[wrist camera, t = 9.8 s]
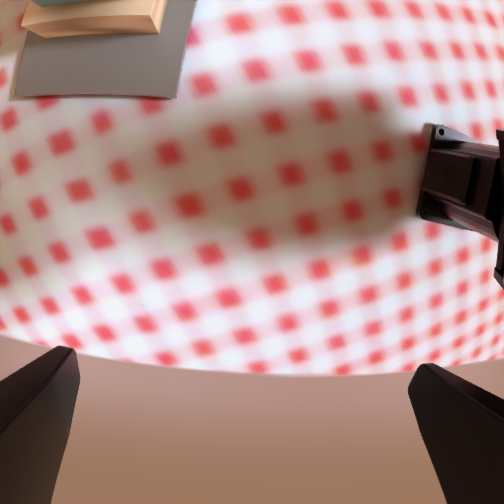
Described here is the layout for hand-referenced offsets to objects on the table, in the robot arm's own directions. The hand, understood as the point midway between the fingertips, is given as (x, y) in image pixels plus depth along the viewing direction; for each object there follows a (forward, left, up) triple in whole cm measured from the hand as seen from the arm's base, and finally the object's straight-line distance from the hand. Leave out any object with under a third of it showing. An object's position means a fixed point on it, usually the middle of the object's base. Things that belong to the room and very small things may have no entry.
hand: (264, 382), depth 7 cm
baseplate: (+9, -14, -12) cm, 20 cm away
